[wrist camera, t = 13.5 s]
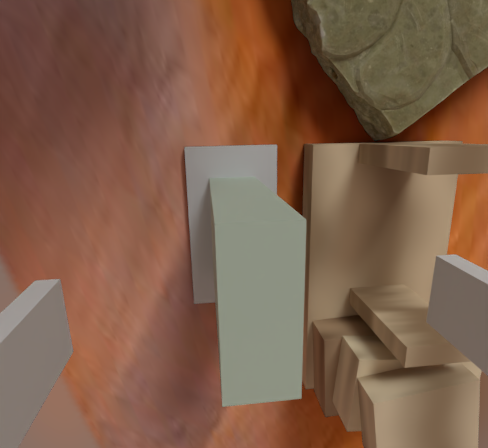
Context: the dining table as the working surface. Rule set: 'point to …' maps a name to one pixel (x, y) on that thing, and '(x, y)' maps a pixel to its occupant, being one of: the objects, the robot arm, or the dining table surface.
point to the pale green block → (257, 291)
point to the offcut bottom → (332, 354)
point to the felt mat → (198, 193)
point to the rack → (381, 239)
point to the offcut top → (420, 407)
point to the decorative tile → (395, 53)
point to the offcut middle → (363, 373)
